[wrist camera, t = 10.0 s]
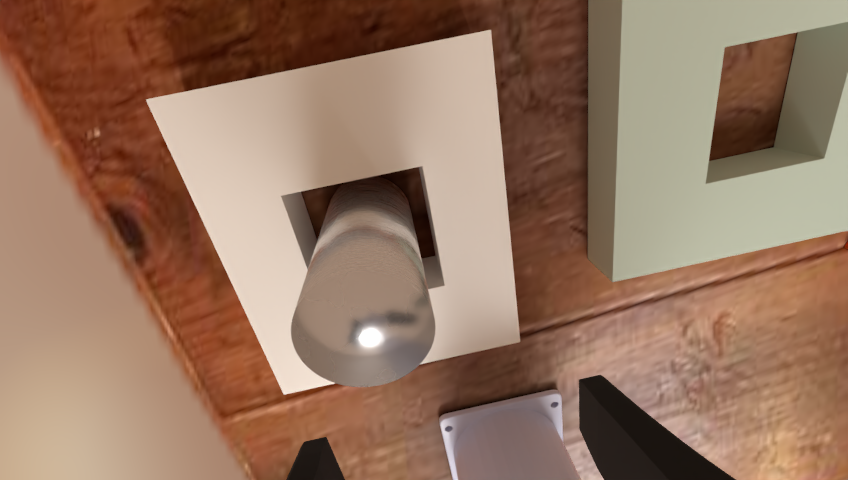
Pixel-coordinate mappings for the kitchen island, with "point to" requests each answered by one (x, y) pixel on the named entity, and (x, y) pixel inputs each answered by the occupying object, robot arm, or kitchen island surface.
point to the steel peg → (365, 290)
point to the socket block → (709, 133)
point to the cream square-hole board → (347, 161)
